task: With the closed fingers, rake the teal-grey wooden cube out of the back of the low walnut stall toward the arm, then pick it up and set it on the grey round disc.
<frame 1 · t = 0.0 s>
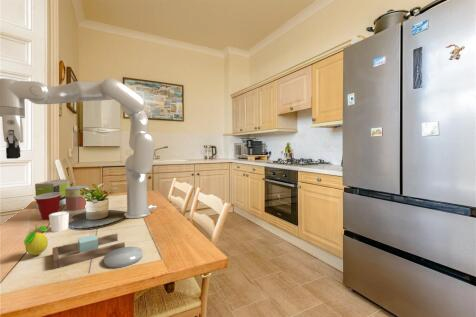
hand: (13, 157, 88), 31 cm above the table, tool pointing down, fingers open, 9 cm apart
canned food: (78, 208, 131), on the table
walnut stall: (101, 249, 80), on the table
grey round disc: (123, 258, 73), on the table
teal cube: (88, 253, 77), resting in walnut stall
plastic cup: (49, 218, 113), on the table
tea box: (54, 205, 137), on the table
lemon: (37, 255, 75), on the table
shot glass: (59, 229, 98), on the table
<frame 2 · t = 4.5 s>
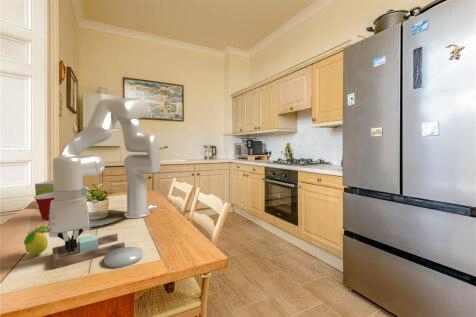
hand: (71, 250, 74), 2 cm above the table, tool pointing down, fingers closed
teal cube: (88, 253, 77), resting in walnut stall, touching gripper
everything else where it was.
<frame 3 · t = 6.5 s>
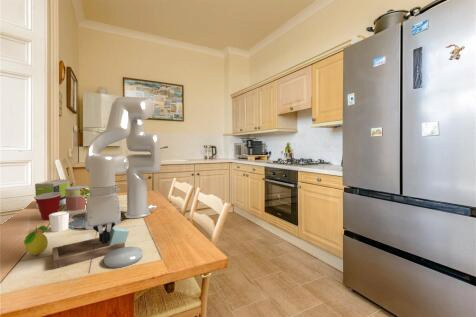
hand: (104, 242, 80), 2 cm above the table, tool pointing down, fingers closed
teal cube: (114, 243, 83), point 1 cm above the table, tilted 20°, touching gripper
everything else where it was.
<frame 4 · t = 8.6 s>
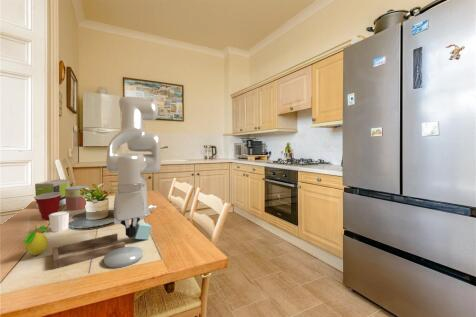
hand: (130, 236, 86), 2 cm above the table, tool pointing down, fingers closed
teal cube: (139, 237, 88), point 1 cm above the table, tilted 19°, touching gripper
everything else where it was.
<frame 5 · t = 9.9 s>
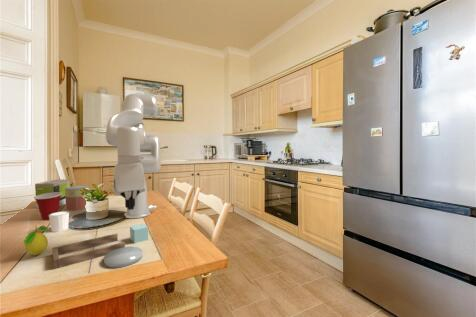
hand: (130, 208, 86), 13 cm above the table, tool pointing down, fingers closed
teal cube: (139, 239, 88), on the table
everything else where it was.
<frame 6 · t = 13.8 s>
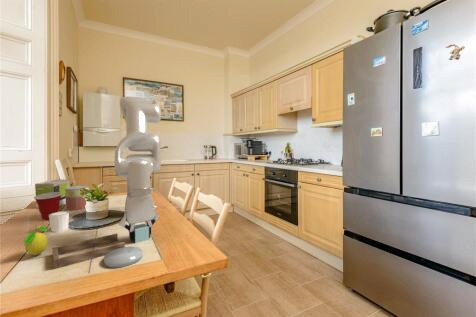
hand: (140, 238, 88), 0 cm above the table, tool pointing down, fingers closed on teal cube, 5 cm apart
teal cube: (140, 239, 89), on the table, touching gripper
everything else where it was.
when the fingers open (3 cm above the table, at t = 19.3 s): teal cube drops 1 cm, resting on grey round disc.
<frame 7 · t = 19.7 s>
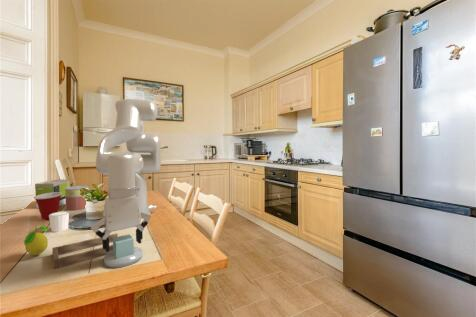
hand: (123, 245, 73), 4 cm above the table, tool pointing down, fingers open, 9 cm apart
teal cube: (123, 253, 74), point 1 cm above the table, touching grey round disc
everything else where it was.
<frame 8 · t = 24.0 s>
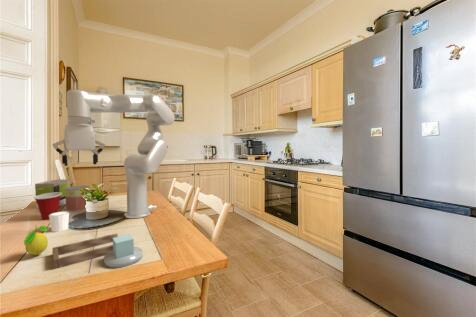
hand: (80, 164, 92), 28 cm above the table, tool pointing down, fingers open, 9 cm apart
nothing on the table moved.
at the end: teal cube 0.5 cm off-centre on the grey round disc, point 1.5 cm above the grey round disc's base; teal cube tilted 0°; the gripper is holding nothing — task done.
